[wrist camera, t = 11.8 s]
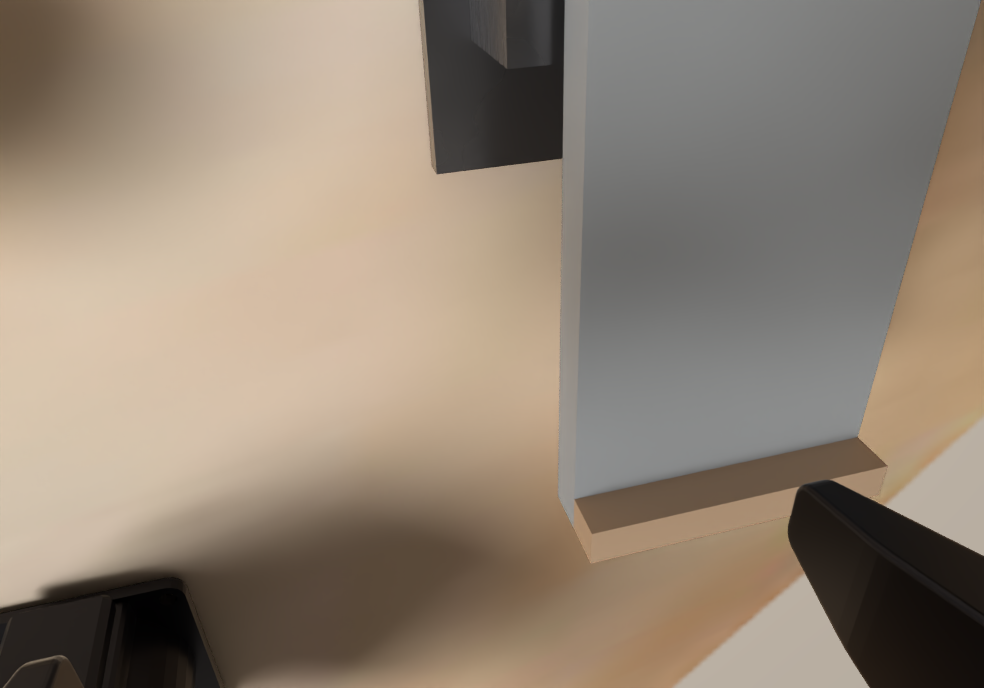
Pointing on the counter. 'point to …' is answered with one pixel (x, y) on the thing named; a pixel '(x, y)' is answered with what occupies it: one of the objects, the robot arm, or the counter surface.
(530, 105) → the pivot stand
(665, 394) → the beam
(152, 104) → the counter surface
